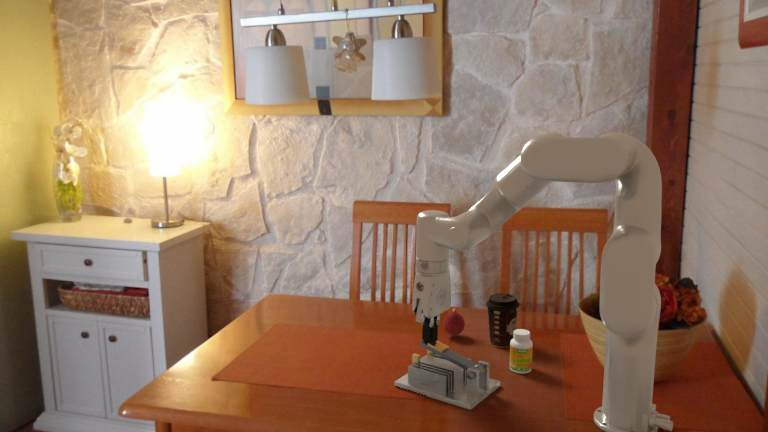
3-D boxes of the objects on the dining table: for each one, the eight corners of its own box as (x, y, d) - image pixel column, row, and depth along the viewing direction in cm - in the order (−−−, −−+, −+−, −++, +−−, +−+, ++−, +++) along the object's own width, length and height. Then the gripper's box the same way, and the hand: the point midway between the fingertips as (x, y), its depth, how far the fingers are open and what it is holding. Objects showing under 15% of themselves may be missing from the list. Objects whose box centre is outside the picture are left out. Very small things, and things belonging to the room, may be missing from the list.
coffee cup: (517, 338, 187) (518, 292, 185) (519, 350, 179) (521, 302, 177) (484, 337, 188) (485, 291, 186) (486, 349, 180) (487, 302, 178)
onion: (465, 340, 186) (465, 312, 184) (444, 340, 186) (444, 312, 185) (463, 332, 192) (463, 305, 190) (442, 332, 192) (442, 305, 190)
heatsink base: (500, 386, 159) (500, 356, 158) (470, 410, 148) (471, 378, 147) (427, 365, 171) (427, 337, 169) (394, 386, 160) (394, 356, 158)
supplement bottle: (515, 375, 165) (516, 337, 163) (505, 366, 170) (506, 329, 168) (535, 372, 166) (537, 334, 164) (525, 363, 171) (526, 326, 169)
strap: (484, 375, 155) (487, 365, 154) (478, 379, 152) (480, 370, 151) (425, 343, 163) (427, 334, 162) (418, 347, 161) (420, 338, 160)
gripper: (428, 276, 148) (425, 355, 152) (462, 260, 160) (459, 334, 164) (399, 269, 152) (398, 347, 156) (435, 255, 164) (433, 327, 168)
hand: (429, 340), depth 160 cm, fingers closed
